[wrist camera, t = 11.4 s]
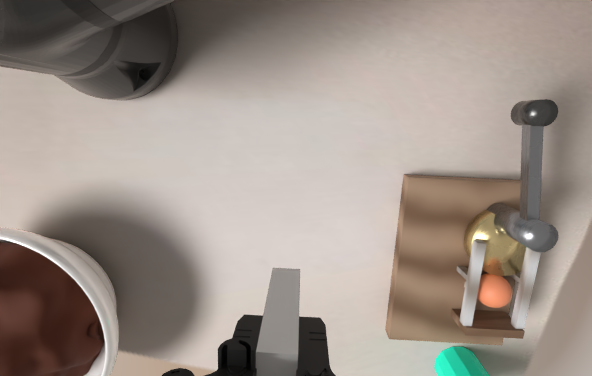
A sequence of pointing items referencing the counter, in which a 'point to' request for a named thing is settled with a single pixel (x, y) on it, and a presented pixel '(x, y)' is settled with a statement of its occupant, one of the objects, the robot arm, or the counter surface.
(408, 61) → the counter surface
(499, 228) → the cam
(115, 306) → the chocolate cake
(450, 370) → the candle
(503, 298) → the ball
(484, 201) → the stand
